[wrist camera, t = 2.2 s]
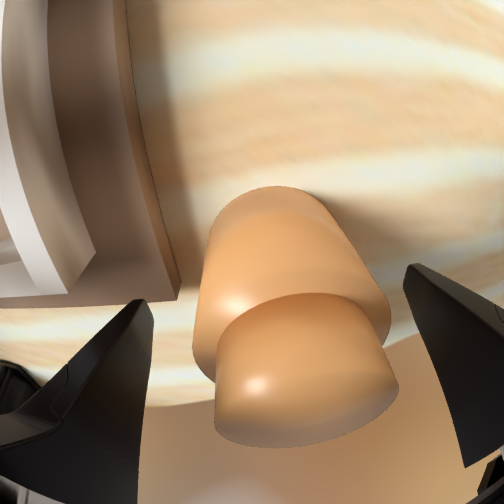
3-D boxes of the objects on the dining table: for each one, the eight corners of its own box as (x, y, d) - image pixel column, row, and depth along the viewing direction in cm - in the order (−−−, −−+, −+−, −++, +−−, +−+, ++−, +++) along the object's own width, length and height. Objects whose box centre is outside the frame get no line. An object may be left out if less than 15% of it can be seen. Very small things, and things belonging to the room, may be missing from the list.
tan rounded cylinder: (333, 290, 12) (385, 430, 6) (220, 305, 12) (216, 457, 6) (338, 180, 9) (461, 316, 3) (195, 196, 9) (140, 368, 4)
